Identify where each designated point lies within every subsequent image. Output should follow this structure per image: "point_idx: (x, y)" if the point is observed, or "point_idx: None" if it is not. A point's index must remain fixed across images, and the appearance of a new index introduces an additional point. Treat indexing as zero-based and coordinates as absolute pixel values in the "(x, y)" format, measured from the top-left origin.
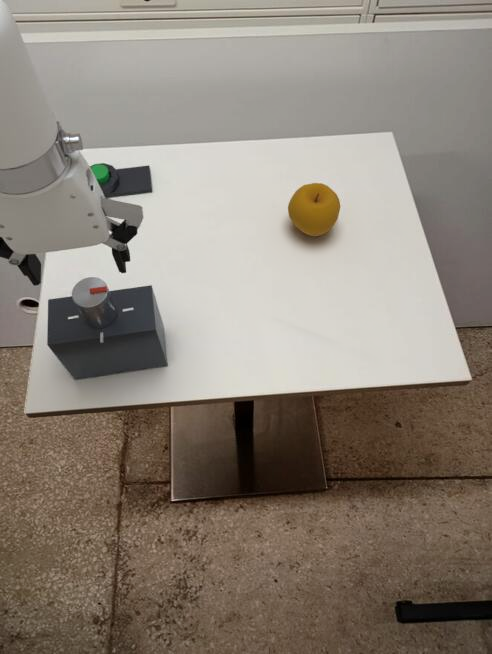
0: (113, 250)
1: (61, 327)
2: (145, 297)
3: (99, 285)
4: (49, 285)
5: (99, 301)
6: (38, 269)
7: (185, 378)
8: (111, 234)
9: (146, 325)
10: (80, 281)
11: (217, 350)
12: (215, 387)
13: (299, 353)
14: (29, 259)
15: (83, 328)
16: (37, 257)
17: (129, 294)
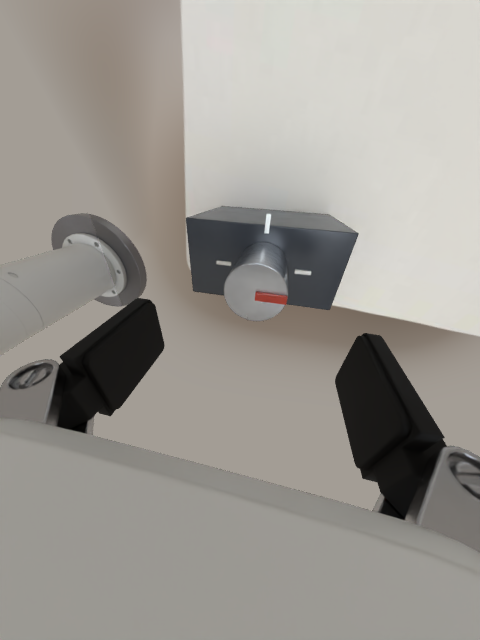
0: (368, 474)
1: (208, 272)
2: (337, 256)
3: (274, 287)
4: (185, 84)
5: (268, 317)
6: (150, 335)
7: None
8: (401, 434)
9: (319, 301)
10: (240, 268)
11: (375, 264)
12: (349, 301)
13: (462, 293)
14: (114, 388)
15: None
16: (138, 315)
17: (313, 243)
